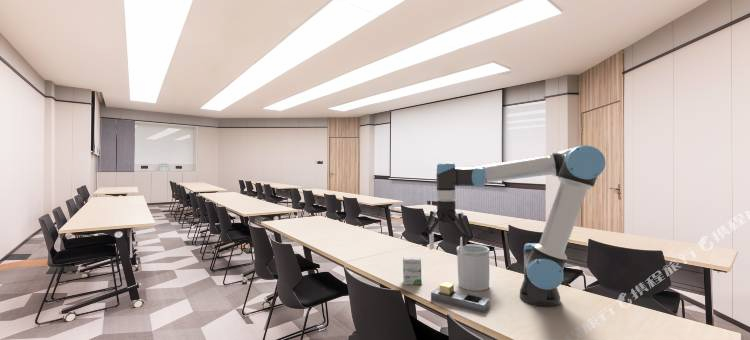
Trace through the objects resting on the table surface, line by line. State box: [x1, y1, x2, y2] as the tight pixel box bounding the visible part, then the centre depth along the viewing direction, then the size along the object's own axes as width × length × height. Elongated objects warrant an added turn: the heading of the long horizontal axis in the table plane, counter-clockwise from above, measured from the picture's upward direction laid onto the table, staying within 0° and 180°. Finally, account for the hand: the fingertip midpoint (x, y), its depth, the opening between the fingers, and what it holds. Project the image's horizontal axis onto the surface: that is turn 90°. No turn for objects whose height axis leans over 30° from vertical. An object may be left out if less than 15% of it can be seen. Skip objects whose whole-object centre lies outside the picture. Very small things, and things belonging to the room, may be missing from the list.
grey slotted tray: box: [430, 286, 491, 314], centre depth 134 cm, size 22×7×3 cm, turn 54°
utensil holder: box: [456, 243, 490, 292], centre depth 153 cm, size 15×15×18 cm
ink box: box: [402, 256, 422, 286], centre depth 157 cm, size 9×5×12 cm, turn 84°
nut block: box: [438, 281, 455, 297], centre depth 137 cm, size 4×4×6 cm
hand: (446, 251), depth 137 cm, fingers open, 13 cm apart
